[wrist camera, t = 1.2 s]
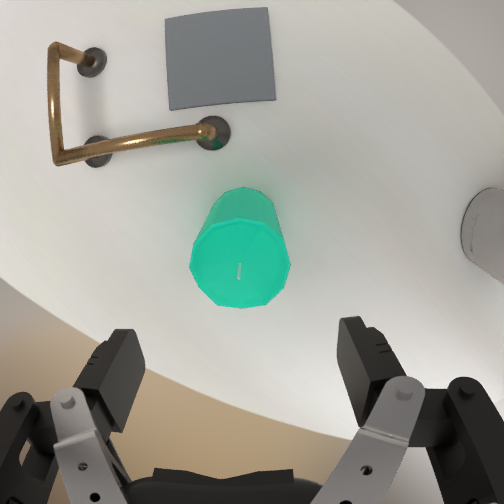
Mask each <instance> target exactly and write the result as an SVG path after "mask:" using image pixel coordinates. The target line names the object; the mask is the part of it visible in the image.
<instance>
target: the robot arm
mask: <svg viewBox="0 0 504 504" xmlns="http://www.w3.org/2000/svg"><path fill="white" fill-rule="evenodd" d="M461 239H462V246H463V249H464V252H465V254H466V256H467V257H468V258H469V259H470V260H471V261H472V262H473V263H475V264H476V265H478V266H479V267H480V268H482V269H483V270H484V271H486V272H487V273H488V274H490V275H491V276H492V277H494V278H495V279H496V280H498V281H499V282H500V283H502V284H503V285H504V191H502V190H499V189H495V188H490V189H486V190H484V191H482V192H480V193H479V194H478V195H477V196H476V197H475V198H474V199H473V201H472V202H471V203H470V205H469V207H468V209H467V211H466V214H465V217H464V220H463V225H462V233H461ZM337 361H338V365H339V368H340V371H341V374H342V377H343V380H344V383H345V386H346V389H347V392H348V395H349V398H350V401H351V404H352V407H353V411H354V414H355V417H356V420H357V423H358V426H359V427H360V429H359V430H358V431H357V433H356V435H355V436H354V438H353V440H352V442H351V443H350V445H349V447H348V448H347V450H346V451H345V453H344V455H343V456H342V458H341V459H340V461H339V463H338V464H337V466H336V468H335V469H334V470H333V472H332V473H331V475H330V476H329V478H328V479H327V481H326V482H325V484H324V485H321V484H319V483H317V482H313V481H310V480H306V479H302V478H294V477H293V469H287V470H275V471H257V472H254V473H249V474H246V475H241V476H237V477H232V478H227V479H216V478H212V477H208V476H204V475H200V474H196V473H193V472H189V471H183V470H171V469H161V468H154V472H153V476H152V477H146V478H142V479H138V480H135V481H132V480H131V478H130V477H129V475H128V473H127V471H126V469H125V467H124V466H123V464H122V462H121V460H120V458H119V456H118V454H117V451H116V449H115V447H114V445H113V443H112V441H111V439H110V438H109V436H110V434H111V431H112V432H119V433H122V432H123V429H124V427H125V424H126V421H127V418H128V416H129V413H130V410H131V407H132V405H133V402H134V399H135V397H136V394H137V391H138V389H139V386H140V383H141V381H142V378H143V375H144V373H145V360H144V356H143V353H142V350H141V347H140V344H139V341H138V338H137V335H136V332H135V331H134V330H133V329H115V330H114V331H113V333H112V335H111V336H110V338H109V340H108V341H104V342H103V343H101V344H100V345H99V346H98V347H97V348H96V349H95V350H94V352H93V354H92V355H91V358H90V359H89V360H88V362H87V365H85V367H84V369H83V370H82V372H81V374H80V375H79V377H78V378H77V380H76V382H75V384H74V385H73V387H68V388H64V389H62V390H60V391H58V392H57V393H56V394H55V395H54V396H53V397H52V399H51V401H45V402H35V401H34V399H33V397H32V396H31V395H30V394H29V393H27V392H19V393H16V394H14V395H12V396H11V397H10V398H9V399H8V400H7V401H6V403H5V404H4V406H3V408H2V409H1V411H0V504H47V502H48V498H49V495H50V492H51V489H52V486H53V483H54V481H55V477H56V475H57V472H58V469H60V472H61V476H62V479H63V482H64V485H65V488H66V491H67V494H68V497H69V500H70V503H71V504H381V503H382V501H383V499H384V498H385V495H386V494H387V492H388V489H389V488H390V485H391V483H392V481H393V479H394V477H395V475H396V473H397V470H398V468H399V466H400V464H401V462H402V459H403V457H404V455H405V452H406V450H407V447H426V450H427V453H428V456H429V458H430V461H431V464H432V467H433V470H434V473H435V476H436V479H437V482H438V485H439V488H440V491H441V494H442V498H443V501H444V504H504V421H503V419H502V417H501V416H500V414H499V412H498V411H497V409H496V407H495V406H494V404H493V402H492V401H491V399H490V397H489V396H488V394H487V393H486V391H485V389H484V388H483V386H482V385H481V384H480V383H479V382H478V381H477V380H475V379H473V378H470V377H458V378H456V379H454V380H452V381H451V383H450V384H449V386H448V388H447V389H427V388H424V386H423V385H422V383H421V382H419V381H418V380H417V379H415V378H412V377H409V376H407V375H406V373H405V372H404V370H403V368H402V366H401V364H400V363H399V361H398V359H397V357H396V356H395V354H394V352H393V351H392V349H391V347H390V345H389V344H388V342H387V340H386V338H385V337H384V335H383V334H382V333H381V332H380V331H378V330H377V329H376V328H374V327H369V328H366V326H365V324H364V322H363V320H362V319H361V317H360V316H355V317H347V318H341V319H340V322H339V332H338V343H337ZM362 427H363V428H362ZM26 440H27V441H28V442H29V443H30V445H31V446H30V449H29V451H28V453H27V455H26V458H25V460H24V462H23V465H22V466H21V464H20V462H19V455H20V452H21V450H22V448H23V446H24V444H25V442H26Z"/></svg>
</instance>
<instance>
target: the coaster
mask: <svg viewBox="0 0 504 504" xmlns="http://www.w3.org/2000/svg"><path fill="white" fill-rule="evenodd" d="M165 42H166V65H167V82H168V97H169V110H171V111H172V110H178V109H185V108H192V107H200V106H209V105H218V104H228V103H239V102H252V101H270V100H276V94H275V82H274V70H273V59H272V48H271V37H270V27H269V17H268V8H267V7H262V8H243V9H231V10H221V11H212V12H204V13H197V14H190V15H184V16H178V17H173V18H168V19H165Z"/></svg>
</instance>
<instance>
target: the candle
mask: <svg viewBox="0 0 504 504" xmlns="http://www.w3.org/2000/svg"><path fill="white" fill-rule="evenodd" d="M290 266H291V264H290V260H289V257H288V253H287V249H286V246H285V242H284V239H283V235H282V232H281V229H280V226H279V222H278V219H277V216H276V213H275V210H274V206H273V203H272V202H271V201H270V200H269V199H268V198H266V197H265V196H264V195H263V194H262V193H261V192H260V191H257V190H252V189H248V188H244V187H242V188H238V189H235V190H231V191H228V192H225V193H224V195H223V196H222V197H221V198H220V199H219V200H218V201H217V202H216V203H215V204H214V206H213V207H212V209H211V211H210V213H209V215H208V217H207V219H206V221H205V223H204V225H203V227H202V229H201V230H200V232H199V234H198V236H197V238H196V240H195V242H194V244H193V249H192V255H191V261H190V267H189V268H190V270H191V272H192V274H193V276H194V278H195V280H196V282H197V284H198V286H199V288H200V289H201V290H202V291H203V292H204V293H205V294H206V295H207V296H208V297H209V298H210V299H211V300H212V301H213V302H214V303H215V304H216V305H218V306H226V307H234V308H249V307H256V306H263V305H266V304H267V303H268V302H269V301H271V300H272V299H273V298H274V297H275V296H276V295H277V294H278V293H279V292H280V291H281V290H282V289H283V288H284V285H285V282H286V279H287V275H288V272H289V269H290Z"/></svg>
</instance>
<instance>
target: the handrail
mask: <svg viewBox="0 0 504 504" xmlns="http://www.w3.org/2000/svg"><path fill="white" fill-rule="evenodd" d="M59 58H60V59H63V60H66V61H69V62H72V63H75V64H77V69H78V72H79V73H80V74H81V75H82V76H85V77H94V76H96V75H98V74H99V73H100V72H101V71H102V70H103V69H104V67H105V65H106V61H107V57H106V54H105V52H104V51H103V50H101V49H99V48H96V47H93V48H89V49H87V50H86V51H84V52H82V51H79V50H77V49H74V48H72V47H69V46H67V45H64V44H62V43H59V42H54V43H52V44H51V45H50V46H49V47H48V57H47V94H48V116H49V130H50V141H51V151H52V159H53V163H54V164H55V165H56V166H63V165H67V164H71V163H76V162H80V161H85V162H86V163H87V164H88V165H89V166H91V167H94V168H97V167H101V166H104V165H106V164H107V163H108V162H109V160H110V159H111V156H112V153H115V152H120V151H126V150H131V149H137V148H143V147H149V146H155V145H162V144H168V143H176V142H183V141H191V140H196V141H197V143H198V144H199V145H200V146H201V147H202V148H204V149H207V150H217V149H220V148H222V147H223V146H225V145H226V144H227V142H228V141H229V138H230V134H231V131H230V127H229V125H228V123H227V122H226V121H225V120H224V119H222V118H221V117H218V116H208V117H205V118H203V119H202V120H200V122H199V123H197V124H195V125H190V126H182V127H175V128H169V129H162V130H156V131H150V132H144V133H139V134H133V135H128V136H123V137H118V138H113V139H109V140H108V139H107V138H106V137H104V136H93V137H91V138H89V139H88V140H87V141H86V143H85V144H84V145H83V146H79V147H75V148H71V149H66V150H64V146H63V136H62V124H61V109H60V82H59Z"/></svg>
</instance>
